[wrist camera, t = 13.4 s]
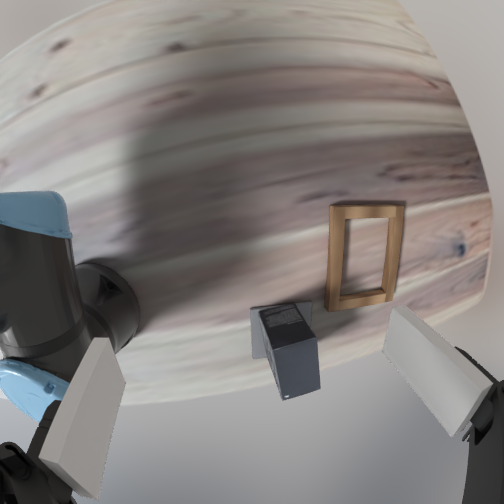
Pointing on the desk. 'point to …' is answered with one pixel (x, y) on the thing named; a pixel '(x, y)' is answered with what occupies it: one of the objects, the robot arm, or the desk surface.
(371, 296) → the wooden frame
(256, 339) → the mat
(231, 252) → the desk surface
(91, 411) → the robot arm
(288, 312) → the small box
